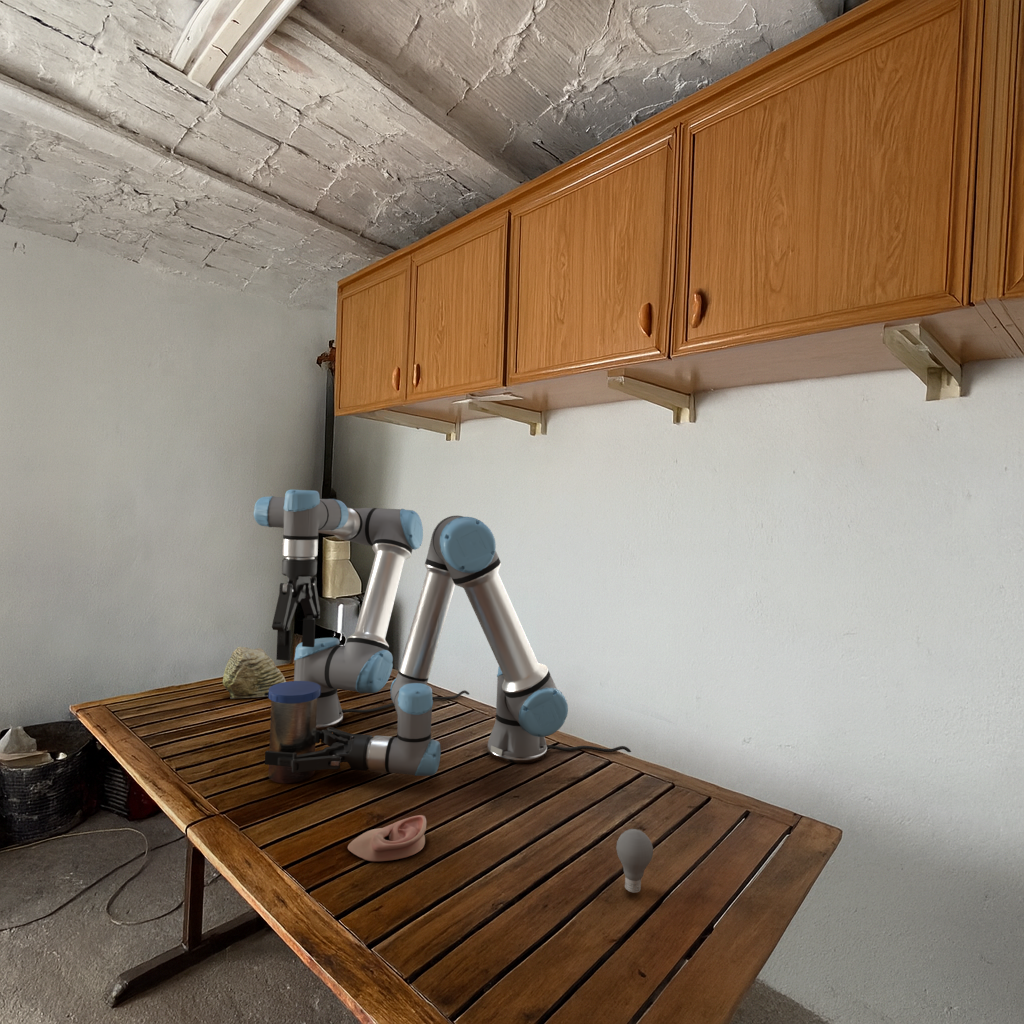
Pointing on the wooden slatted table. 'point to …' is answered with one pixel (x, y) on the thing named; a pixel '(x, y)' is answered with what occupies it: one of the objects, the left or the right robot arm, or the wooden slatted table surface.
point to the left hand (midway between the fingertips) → (296, 652)
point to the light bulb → (634, 857)
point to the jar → (292, 736)
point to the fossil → (250, 673)
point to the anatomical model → (391, 840)
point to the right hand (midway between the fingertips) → (279, 745)
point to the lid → (294, 692)
